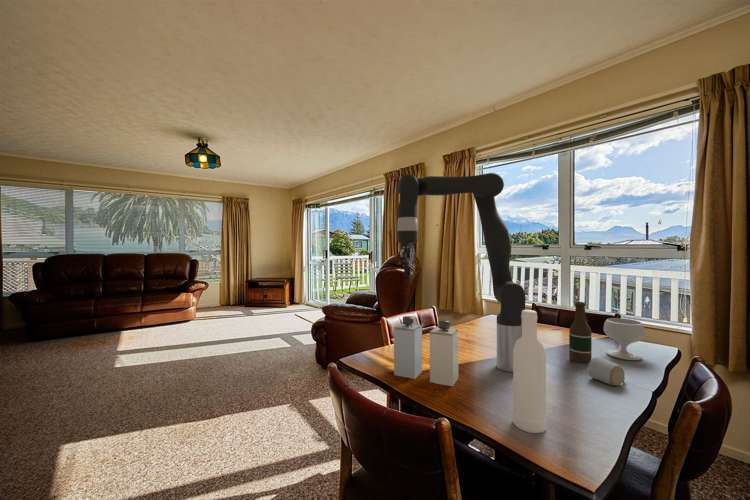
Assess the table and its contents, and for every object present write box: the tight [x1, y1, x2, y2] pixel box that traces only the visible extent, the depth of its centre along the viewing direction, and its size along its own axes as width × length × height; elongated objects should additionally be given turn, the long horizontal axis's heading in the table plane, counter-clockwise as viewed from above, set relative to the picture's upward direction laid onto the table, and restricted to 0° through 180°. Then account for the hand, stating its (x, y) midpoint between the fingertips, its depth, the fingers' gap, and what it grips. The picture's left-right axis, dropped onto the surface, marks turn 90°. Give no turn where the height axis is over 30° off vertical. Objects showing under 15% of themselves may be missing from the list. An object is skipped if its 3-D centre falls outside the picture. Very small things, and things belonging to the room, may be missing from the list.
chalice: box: [603, 317, 646, 361], centre depth 135 cm, size 14×14×15 cm
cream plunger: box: [437, 319, 451, 332], centre depth 112 cm, size 6×6×15 cm
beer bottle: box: [568, 301, 593, 365], centre depth 130 cm, size 8×8×24 cm
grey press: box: [393, 322, 423, 380], centre depth 118 cm, size 8×8×18 cm
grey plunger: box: [402, 315, 415, 327], centre depth 118 cm, size 6×6×15 cm
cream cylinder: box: [587, 356, 626, 387], centre depth 110 cm, size 11×8×8 cm
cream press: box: [429, 326, 459, 388], centre depth 112 cm, size 8×8×18 cm
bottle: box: [512, 309, 547, 434], centre depth 83 cm, size 8×8×30 cm
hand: (407, 276), depth 118 cm, fingers closed
